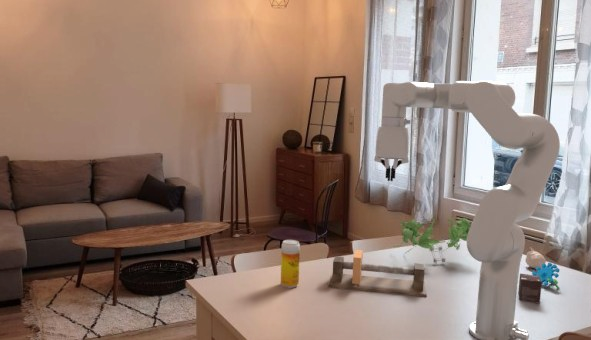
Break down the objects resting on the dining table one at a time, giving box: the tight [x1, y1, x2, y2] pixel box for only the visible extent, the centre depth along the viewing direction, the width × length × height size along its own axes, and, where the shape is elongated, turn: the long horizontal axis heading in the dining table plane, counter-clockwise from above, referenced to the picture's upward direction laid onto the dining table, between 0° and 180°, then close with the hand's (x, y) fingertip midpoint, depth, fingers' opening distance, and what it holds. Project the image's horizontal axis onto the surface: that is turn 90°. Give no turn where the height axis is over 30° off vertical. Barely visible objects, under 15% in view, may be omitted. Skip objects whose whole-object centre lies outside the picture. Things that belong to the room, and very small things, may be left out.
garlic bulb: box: [525, 246, 547, 270], centre depth 193 cm, size 7×6×8 cm
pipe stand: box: [327, 255, 428, 298], centre depth 170 cm, size 32×12×8 cm, turn 79°
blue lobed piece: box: [531, 262, 561, 290], centre depth 175 cm, size 11×6×10 cm
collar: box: [352, 249, 364, 284], centre depth 171 cm, size 2×9×9 cm, turn 169°
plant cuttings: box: [394, 217, 473, 266], centre depth 199 cm, size 35×17×22 cm
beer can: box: [280, 239, 301, 289], centre depth 167 cm, size 6×6×15 cm
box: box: [517, 273, 543, 304], centre depth 162 cm, size 6×6×7 cm
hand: (390, 180), depth 160 cm, fingers closed
